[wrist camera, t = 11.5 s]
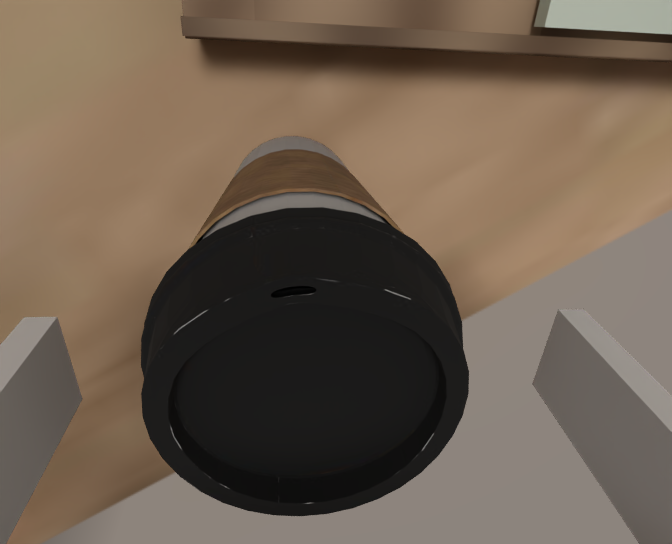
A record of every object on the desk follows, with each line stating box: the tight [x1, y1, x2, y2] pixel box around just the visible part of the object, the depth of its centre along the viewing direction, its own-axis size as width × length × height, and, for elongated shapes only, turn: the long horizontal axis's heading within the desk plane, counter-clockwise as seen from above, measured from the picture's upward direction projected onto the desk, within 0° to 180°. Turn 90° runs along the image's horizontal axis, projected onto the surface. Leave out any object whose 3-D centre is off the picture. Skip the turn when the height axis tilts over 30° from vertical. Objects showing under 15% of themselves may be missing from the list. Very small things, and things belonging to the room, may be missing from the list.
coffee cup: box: [141, 136, 469, 516], centre depth 16 cm, size 8×8×15 cm
